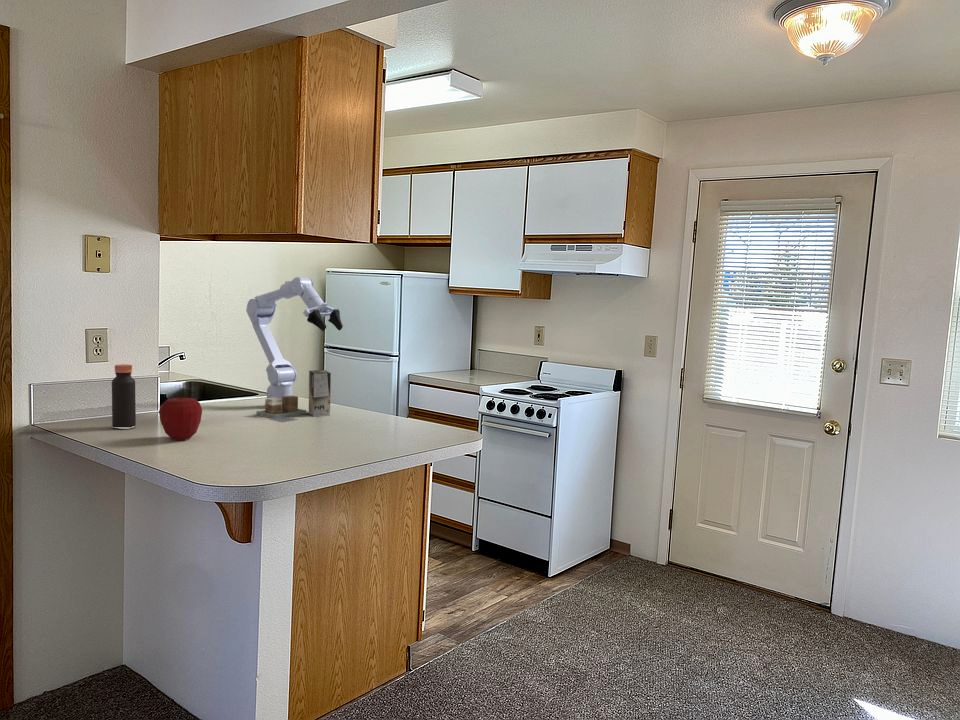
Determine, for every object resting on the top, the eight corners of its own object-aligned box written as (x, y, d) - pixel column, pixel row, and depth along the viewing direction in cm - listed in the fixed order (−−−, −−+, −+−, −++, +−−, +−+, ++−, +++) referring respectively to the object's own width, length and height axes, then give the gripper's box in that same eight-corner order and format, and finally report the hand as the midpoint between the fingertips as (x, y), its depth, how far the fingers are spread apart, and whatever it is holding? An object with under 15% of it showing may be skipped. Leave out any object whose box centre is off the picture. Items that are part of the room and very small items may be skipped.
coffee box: (330, 416, 265) (331, 372, 263) (313, 417, 262) (313, 373, 261) (325, 412, 273) (325, 369, 272) (307, 413, 271) (308, 370, 269)
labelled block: (265, 415, 261) (265, 398, 261) (274, 413, 265) (274, 397, 264) (272, 416, 259) (272, 399, 258) (281, 415, 262) (281, 398, 262)
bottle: (110, 429, 229) (109, 366, 227) (114, 425, 236) (113, 364, 234) (134, 429, 231) (133, 366, 229) (137, 425, 238) (136, 364, 236)
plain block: (281, 412, 267) (282, 396, 267) (290, 411, 271) (290, 395, 270) (289, 414, 265) (289, 397, 264) (297, 412, 268) (297, 396, 268)
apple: (203, 434, 227) (203, 391, 226) (201, 442, 216) (201, 397, 215) (161, 435, 224) (160, 392, 222) (157, 443, 213) (156, 398, 211)
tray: (256, 415, 262) (256, 411, 262) (288, 411, 273) (288, 406, 273) (274, 419, 256) (274, 414, 256) (306, 414, 268) (306, 410, 267)
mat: (269, 420, 254) (269, 419, 254) (285, 418, 259) (285, 416, 259) (282, 423, 250) (282, 422, 250) (298, 420, 255) (298, 419, 255)
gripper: (303, 294, 258) (322, 321, 253) (334, 294, 270) (353, 320, 264) (294, 308, 261) (313, 335, 256) (325, 308, 273) (344, 334, 268)
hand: (332, 328), depth 261 cm, fingers open, 7 cm apart
